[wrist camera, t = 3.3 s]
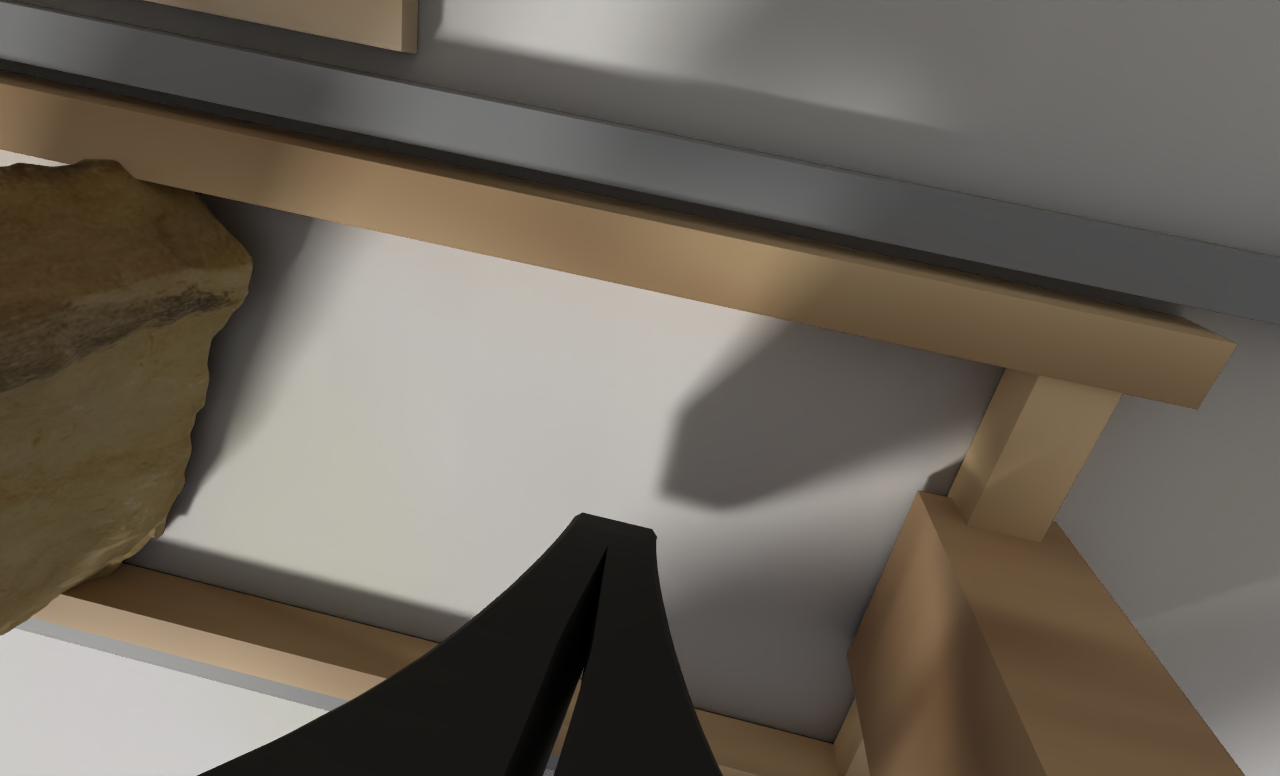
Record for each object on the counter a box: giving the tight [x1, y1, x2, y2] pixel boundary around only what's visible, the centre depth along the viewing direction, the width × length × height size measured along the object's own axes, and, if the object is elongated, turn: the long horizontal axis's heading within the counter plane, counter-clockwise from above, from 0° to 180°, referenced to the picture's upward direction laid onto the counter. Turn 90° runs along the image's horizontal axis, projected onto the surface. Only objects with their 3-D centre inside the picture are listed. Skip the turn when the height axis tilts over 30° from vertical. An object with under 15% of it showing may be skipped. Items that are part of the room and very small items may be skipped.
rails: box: [0, 0, 1280, 770], centre depth 11 cm, size 20×37×1 cm, turn 80°
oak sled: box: [0, 70, 1245, 776], centre depth 10 cm, size 12×25×6 cm, turn 80°
